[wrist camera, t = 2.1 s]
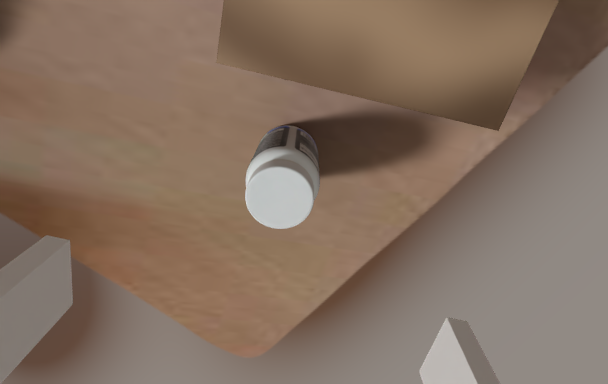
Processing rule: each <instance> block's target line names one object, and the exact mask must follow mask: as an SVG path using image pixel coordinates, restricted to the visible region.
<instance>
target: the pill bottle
mask: <svg viewBox="0 0 608 384" xmlns="http://www.w3.org/2000/svg"><path fill="white" fill-rule="evenodd" d="M319 186H320V177H319V161H318V150H317V146H316V144H315V142H314V140H313V138H312V137H311V136H310V135H309V134H308V133H307V132H306V131H304V130H302V129H300V128H298V127H295V126H289V125H284V126H279V127H276V128H274V129H272V130H270V131H269V132H268V133H266V134H265V136H264V137H263V138H262V140H261V141H260V143H259V145H258V148H257V150H256V152H255V154H254V156H253V158H252V160H251V163H250V164H249V167H248V169H247V173H246V193H245V199H246V205H247V207H248V210H249V211H250V213H251V215H252V216H253V217H254V218H255V219H256V220H257V221H259V222H260V223H262V224H263V225H265V226H268V227H271V228H276V229H285V228H290V227H293V226H296V225H298V224H300V223H301V222H302V221H304V220H305V219H306V218H307V216H308V215H309V213H310V212H311V210H312V207H313V204H314V200H315V198H316V196H317V194H318V191H319Z"/></svg>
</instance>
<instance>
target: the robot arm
mask: <svg viewBox="0 0 608 384" xmlns="http://www.w3.org/2000/svg"><path fill="white" fill-rule="evenodd" d="M72 304H73V297H72V275H71V253H70V240H66V239H61V238H56V237H52V236H47V235H46V236H45V237H43V238H42V239H41V240H40V241H38V242H37V243H35V244H34V245H33V246H31V247H30V248H29V249H28V250H26V251H25V252H23V253H22V254H21V255H19V256H18V257H16V258H15V259H14V260H13V261H11V262H10V263H8V264H7V265H6V266H5V267H3V268H2V269H0V384H1V383H2V382H3V380H5V378H6V377H7V376H8V375H9V374H10V373H11V372H12V371H13V370H14V368H15V367H16V366H17V365H18V364H19V363H20V362H21V361H22V360H23V358H24V357H25V356H26V355H27V354H28V353H29V352H30V351H31V350H32V349H33V348H34V346H35V345H36V344H37V343H38V342H39V341H40V340H41V339H42V337H43V336H44V335H45V334H46V333H47V332H48V331H49V330H50V329H51V328H52V326H53V325H54V324H55V323H56V322H57V321H58V320H59V319H60V318H61V317H62V315H63V314H64V313H65V312H66V311H67V310H68V309H69V308H70V307H71V305H72ZM420 375H421V378H422V381H423V384H500V382H499V380H498V379H497V377H496V375H495V373H494V371H493V369H492V367H491V366H490V364H489V362H488V360H487V358H486V356H485V354H484V352H483V350H482V348H481V347H480V345H479V343H478V341H477V339H476V337H475V335H474V333H473V331H472V330H471V328H470V326H469V324H468V322H467V321H462V320H457V319H453V318H448V317H447V318H446V320H445V322H444V324H443V326H442V328H441V330H440V332H439V334H438V335H437V337H436V340H435V341H434V343H433V345H432V347H431V349H430V351H429V353H428V355H427V357H426V359H425V361H424V363H423V365H422V367H421V369H420Z"/></svg>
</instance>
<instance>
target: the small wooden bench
mask: <svg viewBox="0 0 608 384" xmlns="http://www.w3.org/2000/svg"><path fill="white" fill-rule="evenodd" d="M558 1H559V0H224V3H223V11H222V20H221V28H220V37H219V45H218V53H217V62H216V63H219V64H223V65H228V66H232V67H236V68H240V69H244V70H248V71H253V72H257V73H261V74H265V75H269V76H273V77H277V78H282V79H286V80H290V81H294V82H298V83H302V84H307V85H311V86H315V87H319V88H323V89H327V90H331V91H336V92H340V93H344V94H348V95H352V96H356V97H361V98H365V99H369V100H373V101H377V102H381V103H385V104H390V105H394V106H398V107H402V108H406V109H410V110H414V111H419V112H423V113H427V114H431V115H435V116H439V117H444V118H448V119H452V120H456V121H460V122H464V123H468V124H473V125H477V126H481V127H485V128H489V129H493V130H498V131H499V128H500V126H501V124H502V122H503V120H504V118H505V115H506V113H507V111H508V109H509V107H510V105H511V103H512V100H513V98H514V96H515V94H516V92H517V90H518V87H519V85H520V83H521V81H522V79H523V77H524V74H525V72H526V70H527V68H528V66H529V64H530V62H531V59H532V57H533V55H534V53H535V51H536V49H537V46H538V44H539V42H540V40H541V38H542V36H543V34H544V31H545V29H546V27H547V25H548V23H549V21H550V18H551V16H552V14H553V12H554V10H555V8H556V5H557V3H558Z"/></svg>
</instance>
